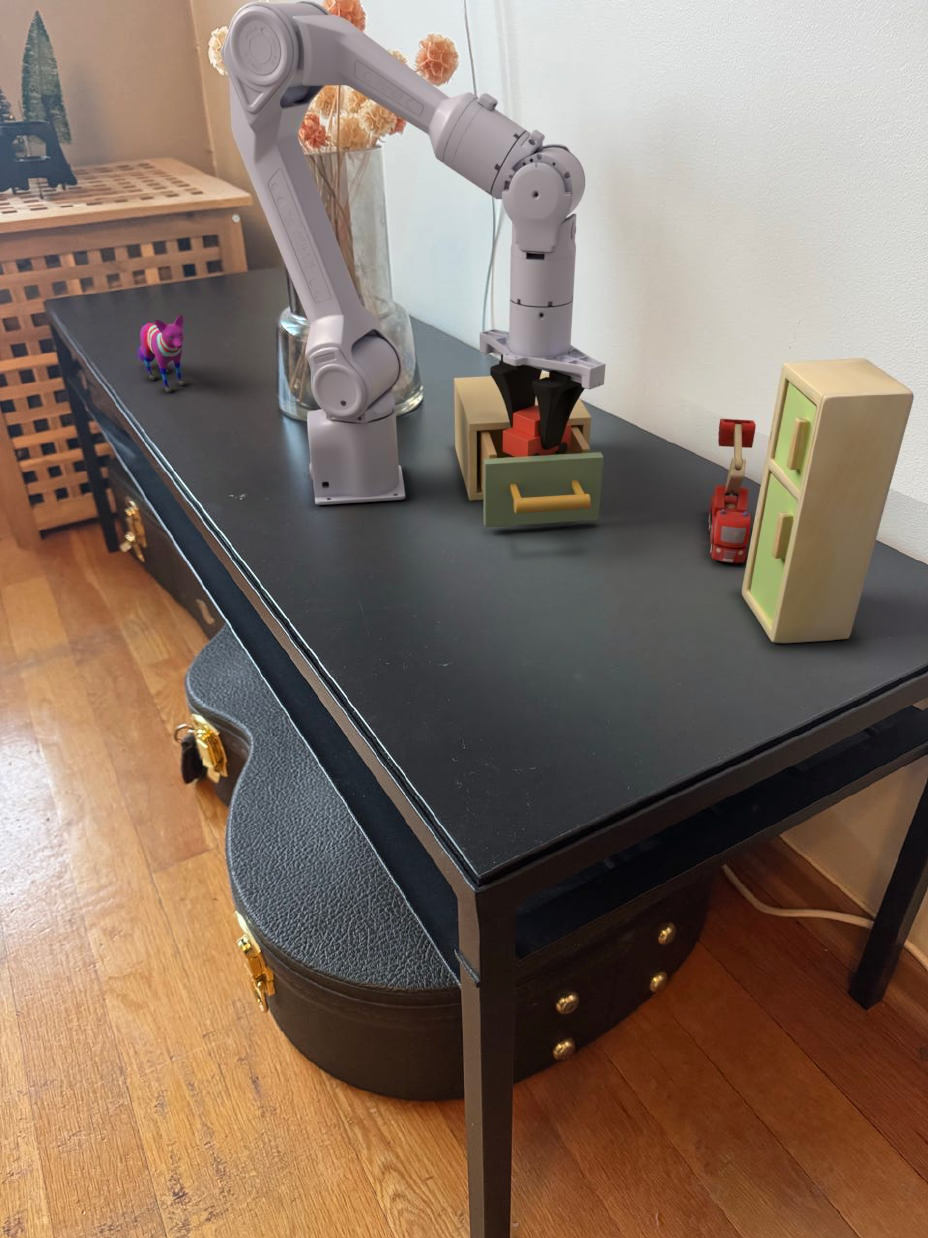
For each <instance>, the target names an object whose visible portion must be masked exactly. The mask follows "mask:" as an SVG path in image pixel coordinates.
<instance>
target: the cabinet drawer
mask: <svg viewBox="0 0 928 1238" xmlns="http://www.w3.org/2000/svg"><path fill="white" fill-rule="evenodd" d="M504 430H507V429H497V430H479V431H477V476H478V479H479V482H480V486H481V489H482V492H483V495H484V500H483V525H484V528H497V527H498V528H499V527H511V526H514V527H515V526H525V525H526V526H528V525H542V524H543V525H544V524H558V523H559V524H561V523H573V522H575V523H576V522H589V521H599V519H600V517H599V515H600V505H601V492H602V482H603V471H604V469H603V468H604V455H603V453H602V452H601V451H597V452H594V451H593V452H591V448H590V445H589V446H588V444H587V443H586V441H585V439H584V437H583V436H582V434H581V432H580V430H579V429H578V427H577V425H571V437H570V446H568V447H567V451H566V452H565V454H560V455H558V454H556V453H555V452H552V453H550V454H547V455H544V456H527V457H511V456H508V455H507V454H506V453H505V452H503V431H504Z"/></svg>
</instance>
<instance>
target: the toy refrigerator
mask: <svg viewBox="0 0 928 1238" xmlns="http://www.w3.org/2000/svg"><path fill="white" fill-rule="evenodd" d="M914 397H915V395H914V392H913V391H912V390H911V389H910V388H909V387H908V386H906V385H905V384H904V383H902V382H900V381H899V380H898V379H896V378H894V377H893V376H892V375H890V374H889V373H887V372H886V371H884V370H883V369H881V368H880V367H878V366H877V365H876V364H874V363H873V362H871V361H870V360H868V359H866V358H862V357H861V358H860V357H857V358H856V357H855V358H837V359H835V358H834V359H818V360H817V359H815V360H814V359H813V360H797V361H795V360H794V361H787V362H784V363H782V367H781V371H780V376H779V382H778V387H777V393H776V397H775V398H776V399H775V404H774V410H773V414H772V421H771V427H770V432H769V439H768V444H767V450H766V454H765V461H764V466H763V472H762V477H761V483H760V488H759V493H758V498H757V503H756V504H757V505H756V510H755V515H754V521H753V525H752V526H753V527H752V532H751V537H750V543H749V548H748V552H747V558H746V559H747V560H746V564H745V570H744V576H743V582H742V588H741V595H742V598H743V599H744V601H745V602H746V604H747V605H748V607H749V609H750V610H751V612H752V613H753V614H754V616H755V618H756V619H757V621H758V622H759V623H760V625H761V627H762V628H763V630H764V632H765V633H766V635H767V636H768V638H769V639H770V641H771V642H772V643H774V644H795V643H809V642H810V643H811V642H826V641H836V640H838V641H839V640H846V639H850V636H851V634H852V632H853V631H852V630H853V627H854V622H855V619H856V616H857V612H858V608H859V604H860V600H861V598H862V597H861V596H862V593H863V589H864V585H865V582H866V577H867V574H868V570H869V567H870V563H871V559H872V557H873V556H872V555H873V552H874V548H875V544H876V541H877V537H878V534H879V529H880V526H881V522H882V519H883V514H884V511H885V507H886V503H887V499H888V496H889V492H890V488H891V485H892V482H893V477H894V473H895V470H896V466H897V463H898V459H899V455H900V453H901V452H900V451H901V448H902V444H903V440H904V436H905V432H906V429H907V425H908V421H909V417H910V414H911V410H912V408H913V407H912V406H913V403H914V399H915V398H914Z"/></svg>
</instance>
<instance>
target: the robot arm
mask: <svg viewBox="0 0 928 1238" xmlns="http://www.w3.org/2000/svg"><path fill="white" fill-rule="evenodd" d="M219 55H220V57H221V60H222V62H223V65H224V68H225V70H226V73H227V75H228V78H229V79H228V80H229V82H228V83H229V101H230V102H229V104H230V126H231V133H232V136H233V139H234V142H235V144H236V147H237V149H238V152H239V154H240V156H241V160H242V161H243V163H244V167H245V170H246V171H247V174H248V176H249V179H250V182H251V183H252V186H253V189H254V191H255V193H256V196H257V198H258V201H259V204H260V206H261V208H262V211H263V213H264V215H265V218H266V220H267V223H268V225H269V229H270V231H271V232H272V235H273V238H274V240H275V243H276V245H277V247H278V250H279V252H280V254H281V257H282V260H283V262H284V265H285V267H286V269H287V272H288V274H289V277H290V280H291V281H292V284H293V287H294V289H295V291H296V293H297V296H298V299H299V302H300V304H301V306H302V308H303V311H304V314H305V316H306V318H307V321H308V324H309V331H308V336H307V340H306V345H305V350H304V351H305V352H304V354H305V358H306V360H307V362H308V365H309V369H310V389H311V393H312V395H313V398H314V400H315V403H316V404H317V405H318V406H319V408H320V409H316V410H309V411H307V414H306V415H307V417H306V418H307V419H306V420H307V421H306V423H307V439H308V447H309V457H310V462H309V474H310V475H309V476H310V479H311V480H312V484H313V493H314V503H315V505H317V506H324V505H325V506H326V505H339V504H341V505H342V504H354V503H355V504H358V503H369V502H370V503H372V502H388V501H402V500H405V499H406V490H405V483H404V477H403V470H402V466H401V465H399V447H398V428H397V427H398V426H397V412H396V410H397V409H396V400H395V397H394V387H395V386H396V385H397V384H398V382H399V381H400V379H401V377H402V374H403V368H404V366H403V365H404V363H403V357H402V355H401V352H400V350H399V349H398V347H397V345H396V344H395V342H393V340H391V338H389V337H388V334H386V333H385V330H384V329H383V327H382V324H381V322H380V318H379V317H378V316H377V315H376V314H375V313H373V312H372V311H371V310H369V309H368V308H366V307H365V306H364V305H363V304H362V303H361V301H360V298H359V295H358V292H357V290H356V287H355V285H354V281H353V280H352V277H351V274H350V271H349V268H348V266H347V263H346V261H345V258H344V255H343V253H342V250H341V247H340V245H339V242H338V239H337V237H336V234H335V231H334V229H333V226H332V223H331V221H330V219H329V216H328V213H327V210H326V208H325V205H324V202H323V200H322V196H321V195H320V192H319V189H318V186H317V184H316V181H315V179H314V176H313V173H312V171H311V169H310V166H309V165H310V164H309V163H308V160H307V157H306V155H305V152H304V149H303V147H302V144H301V142H300V139H299V132H300V129H301V127H302V125H303V122H304V120H305V117H306V115H307V113H308V110H309V107H310V106H311V103H312V102H313V100H314V99H315V98H316V97H317V96H318V95H319V93H320V92H321V91H322V90H323V89H324V88H325V87H327V86H328V87H329V86H346V87H349V88H351V89H353V90H354V91H356V92H358V93H359V94H361V95H362V96H364V97H366V98H368V99H369V100H370V101H373V102H374V103H376V104H377V105H379V106H381V107H383V108H384V109H386V110H387V111H389V112H391V113H392V114H394V115H396V116H397V117H398V118H400V119H402V120H404V121H405V122H407V123H408V124H410V125H412V126H413V127H415V128H417V129H418V130H420V131H422V132H423V133H425V134H427V136H428V137H429V141H430V144H431V147H432V150H433V153H434V156H435V158H436V160H437V161H438V162H441V163H443V164H444V165H445V166H446V167H448V168H449V169H451V170H452V171H454V172H455V173H457V174H458V175H460V177H462V178H464V179H466V180H467V181H469V182H470V183H472V184H473V185H475V186H476V187H477V188H479V189H481V190H482V191H484V192H485V193H486V194H488V195H489V196H491V197H492V198H494V199H495V200H502V205H503V208H504V211H505V213H506V215H507V217H508V218H509V220H510V221H511V245H510V266H509V267H510V271H509V272H510V273H509V274H510V276H509V277H510V278H509V318H508V319H509V321H508V325H509V326H508V329H509V330H508V331H506V330H501V329H497V328H491V329H488V330H484V331H481V332H479V352H480V353H482V354H484V355H489V354H493V355H496V356H500V360H499V361H498V363H497V364H494V365H492V366H490V368H489V376H492V378H493V380H494V381H495V383H496V385H497V387H498V389H499V391H500V393H501V395H502V398H503V401H504V403H505V407H506V410H507V414H508V418H509V422H510V426H511V428H512V427H513V413H515V412H518V411H521V410H523V409H526V408H529V407H532V406H535V400H536V398H537V402H538V407H539V414H540V439H541V445H542V448H543V449H545V450H549V449H551V448H554V447H556V446H559V445H561V441H562V438H563V435H564V431H565V428H566V425H567V422H568V420H569V417H570V415H571V412H572V410H573V408H574V406H575V404H576V402H577V400H578V399H579V398H580V397H581V395H582V394H583V392H584V391H585V390H593V389H595V388H599V387H601V386H604V385H605V377H606V376H605V375H606V363H604V362H601V361H599V360H597V359H594V358H592V357H591V356H589V355H588V354H586V353H585V352H584V351H582V350H580V349H578V348H577V347H575V346H574V345H572V328H573V327H572V326H573V325H572V324H573V311H574V309H573V307H574V291H575V290H574V289H575V274H576V273H575V272H576V256H577V244H576V234H577V213H573V212H574V210H576V208H577V207H578V206H579V204H580V203H581V200H582V199H583V196H584V193H585V190H586V175H585V171H584V167H583V165H582V163H581V161H580V160H579V159H578V157H576V155H574V153H572V152H571V151H570V149H569V148H568V146H567V145H564V144H560V143H548V144H544V141H545V138H546V135H545V134H544V133H542V132H541V131H539V130H538V129H533V130H532V131H531V132H530V131H528V130H527V129H526V128H524V127H523V126H521V125H520V124H518V123H516V122H515V121H514V120H513V119H511V118H509V117H508V116H506V115H505V114H503V113H502V112H500V111H499V110H498V109H496V107H497V106H498V104H499V101H498V100H497V99H496V98H494V97H493V96H492V95H490V94H489V93H487V92H485V93H482V94H479V96H478V95H476V94H474V93H473V92H471V91H470V92H464V93H461V94H458V95H456V96H452V97H449V96H448V95H447V94H445V93H444V92H443V91H441V90H440V89H439V88H437V87H436V86H435V85H433V84H432V83H431V82H430V81H428V80H427V79H426V78H424V77H423V76H422V75H421V74H419V73H417V72H416V71H415V70H414V69H412V68H411V67H410V66H408V65H407V64H405V63H404V62H403V60H401V59H399V58H398V57H396V56H395V55H394V54H392V53H391V52H390V51H388V49H386V48H384V47H383V46H382V45H380V44H379V43H378V42H377V41H375V40H374V39H373V38H371V37H370V36H368V35H367V34H365V32H363V31H362V30H361V29H359V28H358V27H357V26H355V24H354V23H352V22H351V21H349V20H348V19H346V18H345V17H342V16H340V15H337V14H331V13H330V12H329V10H327V9H326V8H325V7H324V6H322V5H321V4H319V3H317V2H315V1H310V0H300V1H298V2H289V3H287V2H284V3H282V2H281V3H279V2H278V3H277V2H275V3H273V2H272V3H270V2H267V1H259V0H254V1H251V2H248V3H246V4H244V5H242V6H241V7H240V8H239V9H238V10H236V12H235V13H234V15H233V16H232V17H231V21H230V23H229V26H228V29H227V32H226V34H225V37H224V39H223V42H222V45H221V48H220V51H219ZM571 213H572V214H571ZM543 372H545V373H549V377H545V378H542V379H540V376H541V374H543Z"/></svg>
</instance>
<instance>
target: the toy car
mask: <svg viewBox="0 0 928 1238" xmlns="http://www.w3.org/2000/svg"><path fill="white" fill-rule="evenodd" d="M570 437H571V424H568V423H567V425H566V428H565V431H564V435H563V438H562V441H561V445H559V446H556V447H554V448H551V449H549V450H545V449H543V448H542V445H541V439H540V414H539V407H538V405H535V406H532V407H529V408H526V409H523V410H521V411H518V412H515V413H513V427H512V428H510V429H507V430H504V431H503V452H505V453H506V454H507V455H508V456H511V457H527V456H544V455H547V454H550V453H552V452H555V453H556V454H558V455H560V454H565V452H566V451H567V447H568V446H570Z"/></svg>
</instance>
